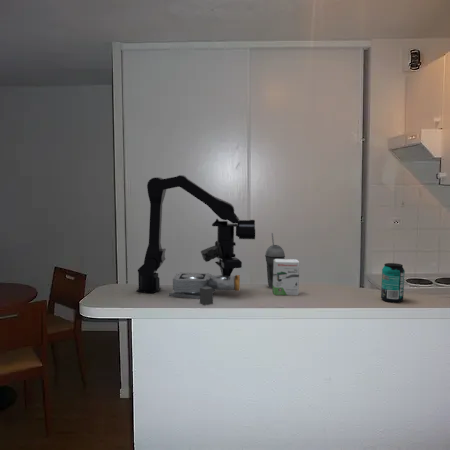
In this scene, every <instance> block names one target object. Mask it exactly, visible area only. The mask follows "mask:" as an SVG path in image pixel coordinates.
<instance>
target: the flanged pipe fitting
mask: <svg viewBox="0 0 450 450" xmlns="http://www.w3.org/2000/svg"><path fill="white" fill-rule="evenodd" d="M186 274H200V275H203V279H182V275H186ZM240 276H241V275H240V274H235V275H230V276H228V275H222V274H221V275H219V274H218V275H217V274H216V275H215V274H213V275H212V274H210V272H179V273H175V274H174V277H172V291H174V290H175V292H200V288H201V287H206V286H208V287H211V288H213V290H215V291H235V292H240V287H241V285H240V284H241V280H240V279H241V277H240Z"/></svg>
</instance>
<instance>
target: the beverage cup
mask: <svg viewBox="0 0 450 450" xmlns="http://www.w3.org/2000/svg"><path fill="white" fill-rule="evenodd" d="M271 240H272V245H270V246H269V247H268V248H267V249H266V251H265V255H264V257H265V262H266V276H267V286H268V288H269V289H273V262H274V259H286V256H285V251H284V249H283V247H282V246H281V245H278V244H275V239H274V233H273V232H271Z"/></svg>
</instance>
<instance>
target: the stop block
mask: <svg viewBox="0 0 450 450" xmlns="http://www.w3.org/2000/svg"><path fill="white" fill-rule="evenodd" d="M199 304H202V305H205V306H206V305H211V304H214V292H213V288H211V287H208V286H206V287H201V288H200V299H199Z"/></svg>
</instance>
